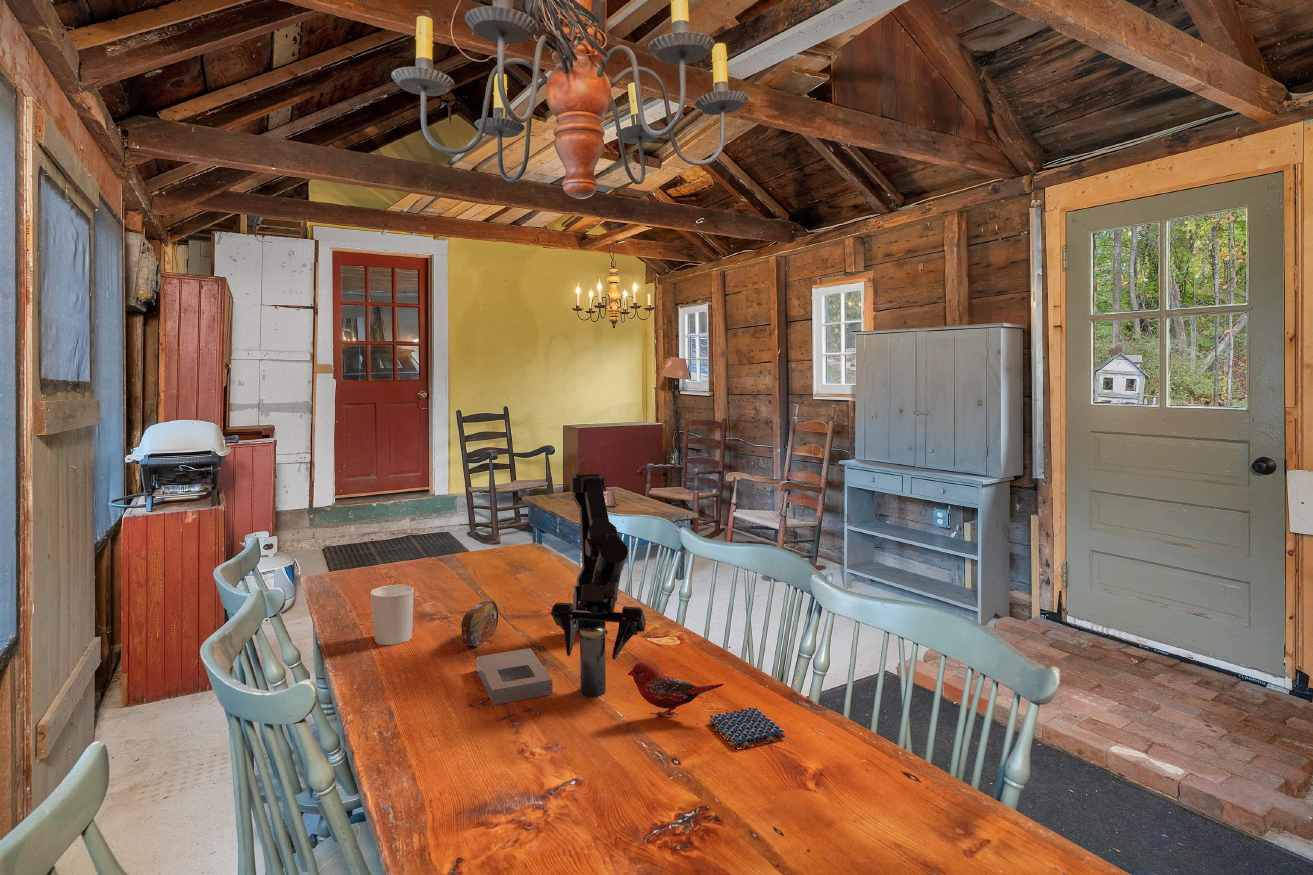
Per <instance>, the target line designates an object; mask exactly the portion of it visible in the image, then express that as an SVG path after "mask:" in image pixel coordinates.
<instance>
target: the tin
mask: <svg viewBox="0 0 1313 875" xmlns="http://www.w3.org/2000/svg"><path fill="white" fill-rule="evenodd" d="M498 623H499V608H498V606H497V603H496V602H495V601H494V600H489V601H488V600H483V601H480V602H479V603H477V605H474V606H473V607H472V608H470V609H468V611H466V612H465V613H464V616H463V618H462V621H461V624H460V626H461V628H460V629H461V638H462V642H463V644H464V645H465V646H467V647H480V646H481V645H482V644H484V643H485V642H486V641H488V639H490V638H491V637H492V636H493V635H494V634H495V633H496V630H497V627H498Z"/></svg>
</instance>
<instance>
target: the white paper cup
mask: <svg viewBox="0 0 1313 875" xmlns="http://www.w3.org/2000/svg"><path fill="white" fill-rule="evenodd" d="M414 591H415V588H414V587H413V586H412V585H409V584H389V585H384V586H379V587H376V588H374V589H371V591H370V592H369V594H370V604H371V615H372V624H373V635H374V642H375V643H376V644H378V645H381V646H395V645H400V644H403V642H404V643H406V642H409V641H410V640H411V639H412V637H413V621H414V620H413V619H414V596H415V595H414V593H415V592H414Z"/></svg>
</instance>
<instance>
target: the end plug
mask: <svg viewBox="0 0 1313 875" xmlns="http://www.w3.org/2000/svg"><path fill="white" fill-rule="evenodd" d="M606 630H607V629H606V624H605V625H603V624H599V623H588V624H584V625H582V626H580V634H579V660H580V661H579V668H580V669H579V672H580V673H579V674H580V676H579V679H580V682H579V683H580V684H579V685H580V694H581V695H582V696H584V697H588V698H598V697H600V696H603V695H604V694H606V690H607V688H606V687H607V685H606V678H607V675H606V671H607V670H606V665H607V664H606V662H607V661H606V634H607V633H606Z"/></svg>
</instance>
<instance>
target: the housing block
mask: <svg viewBox="0 0 1313 875" xmlns="http://www.w3.org/2000/svg"><path fill="white" fill-rule="evenodd" d="M476 672H477V674H478V676H479V679H480V681H481V683H482V686H483V688H484V690H485V692H486V694H487V697H488V698H489V700H490V703H491V706H496V705H497V706H498V705H501V704H503V705H504V704H508V703H514V702H518V701H525V700H529V699H533V698H539V697H540V698H541V697H545V696H549V695H551V696H552V695H553V694H554V692H553V678H552V677H551V675H550V673H549V672H548V671H547V670H546V668H545V666H544V665H543V664H542V663H541V661H540V659H539V658H538V656H537V655H536V653H535V652H534V650H532V648H531V647H530V648H524V649H518V650H511V651H505V652H499V653H493V654H487V655H486V654H485V655H480V656H479V655H478V656H476Z"/></svg>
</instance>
